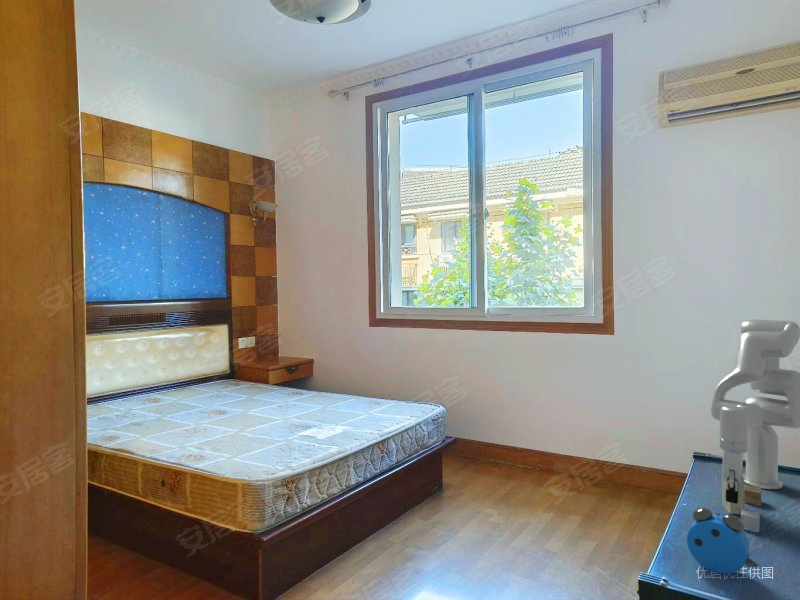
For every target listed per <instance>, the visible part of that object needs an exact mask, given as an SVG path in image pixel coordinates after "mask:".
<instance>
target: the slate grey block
mask: <svg viewBox="0 0 800 600" xmlns="http://www.w3.org/2000/svg"><path fill="white" fill-rule="evenodd" d="M760 514H761V513H760V512H758V511H753V510H750V509H745V508H744V509H742V510H741V514H740V520H741V521H742V522H743V524H744V528H748V529H751V530H753V531H756V532H759V533H760V524H761V523H760V521H761V520H760V518H761V516H760ZM756 532H755V533H756Z"/></svg>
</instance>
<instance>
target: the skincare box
mask: <svg viewBox="0 0 800 600" xmlns="http://www.w3.org/2000/svg"><path fill="white" fill-rule="evenodd" d="M734 475H735V474H734ZM742 475H743V474H742ZM742 475H741V480H740V483H738V484H737V491H738V503H737V504H736V503H731V502H727V501H726V489H727V480H724V481H723V480H722V479H721V491H722V492H721V495H722V496H721V499H722V500H721V501H722V507H723V508H724V509H725V511H727V512H728V514H732V515H741V510H742V509H744V510H745V503H744V489H745V483H744V477H743V476H742ZM734 481H736V480H734Z"/></svg>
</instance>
